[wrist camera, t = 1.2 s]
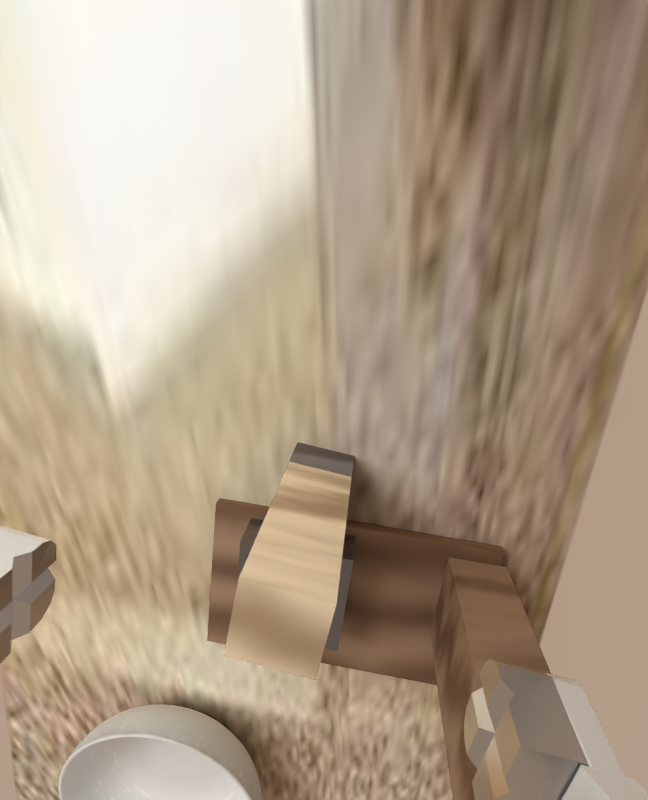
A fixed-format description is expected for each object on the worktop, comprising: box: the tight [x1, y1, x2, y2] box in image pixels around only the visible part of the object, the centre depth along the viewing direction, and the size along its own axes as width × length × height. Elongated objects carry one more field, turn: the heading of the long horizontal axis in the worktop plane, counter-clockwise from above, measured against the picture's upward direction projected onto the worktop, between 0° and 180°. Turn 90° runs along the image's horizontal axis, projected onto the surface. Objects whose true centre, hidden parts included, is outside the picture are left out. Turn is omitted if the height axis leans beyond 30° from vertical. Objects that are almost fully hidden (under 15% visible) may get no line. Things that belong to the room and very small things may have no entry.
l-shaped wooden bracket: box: [207, 499, 551, 800], centre depth 32 cm, size 16×26×25 cm, turn 83°
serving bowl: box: [59, 704, 262, 800], centre depth 49 cm, size 21×21×7 cm
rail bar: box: [224, 443, 354, 680], centre depth 32 cm, size 5×5×18 cm
